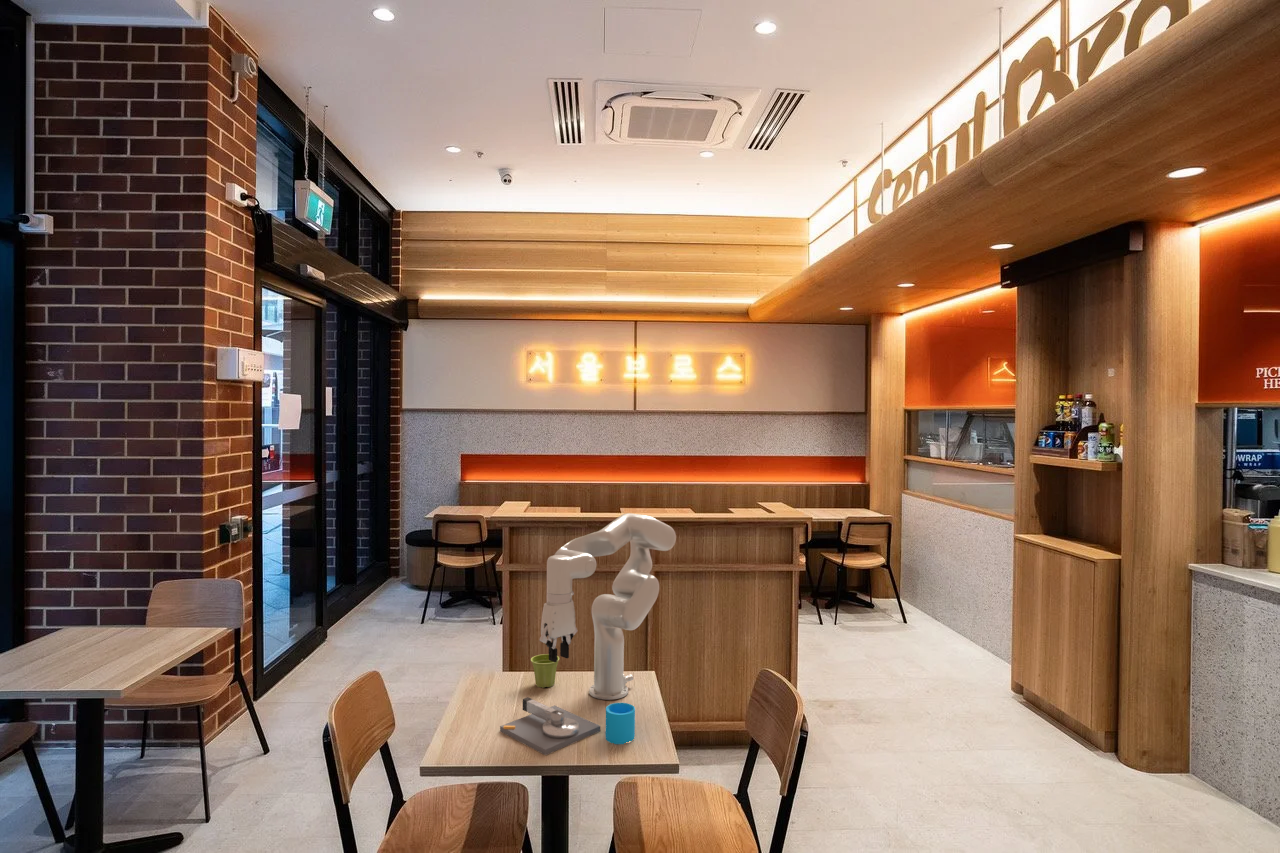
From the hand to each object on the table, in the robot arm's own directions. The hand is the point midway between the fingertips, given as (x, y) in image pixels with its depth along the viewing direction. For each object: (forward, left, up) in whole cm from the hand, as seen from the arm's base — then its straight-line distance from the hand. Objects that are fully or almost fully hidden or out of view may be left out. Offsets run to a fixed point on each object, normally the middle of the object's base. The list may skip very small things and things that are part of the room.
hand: (558, 658), depth 209 cm
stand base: (+8, +6, -17) cm, 20 cm away
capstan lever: (+8, +5, -16) cm, 18 cm away
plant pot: (-13, -22, -18) cm, 31 cm away
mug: (-4, +22, -18) cm, 28 cm away
